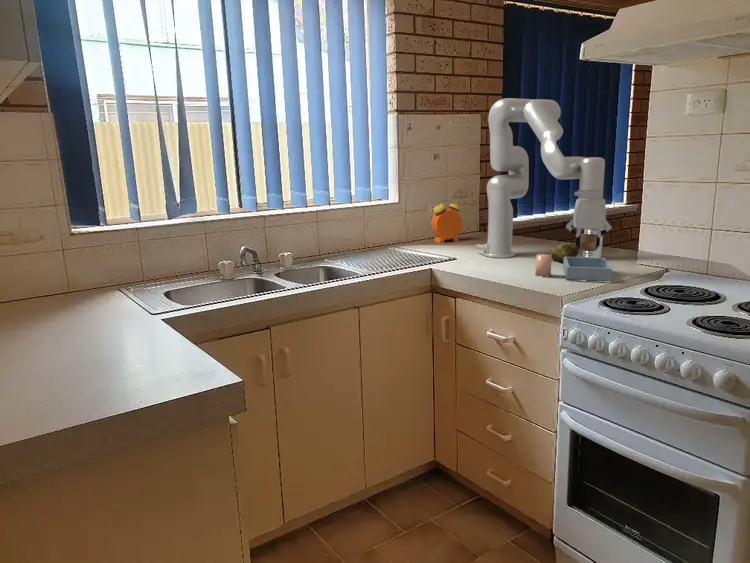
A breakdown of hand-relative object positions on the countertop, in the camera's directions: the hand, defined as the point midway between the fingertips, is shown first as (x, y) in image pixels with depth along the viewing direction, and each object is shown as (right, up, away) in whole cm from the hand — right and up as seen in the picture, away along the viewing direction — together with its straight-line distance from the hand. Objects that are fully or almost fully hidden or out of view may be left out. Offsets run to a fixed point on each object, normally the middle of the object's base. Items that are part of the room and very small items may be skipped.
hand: (587, 248), depth 197 cm
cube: (0, 0, 0) cm, 1 cm away
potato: (-2, -5, +19) cm, 20 cm away
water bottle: (+11, -3, +26) cm, 28 cm away
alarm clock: (-40, +7, +67) cm, 79 cm away
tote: (-1, -9, -1) cm, 10 cm away
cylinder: (-15, -9, -1) cm, 18 cm away
